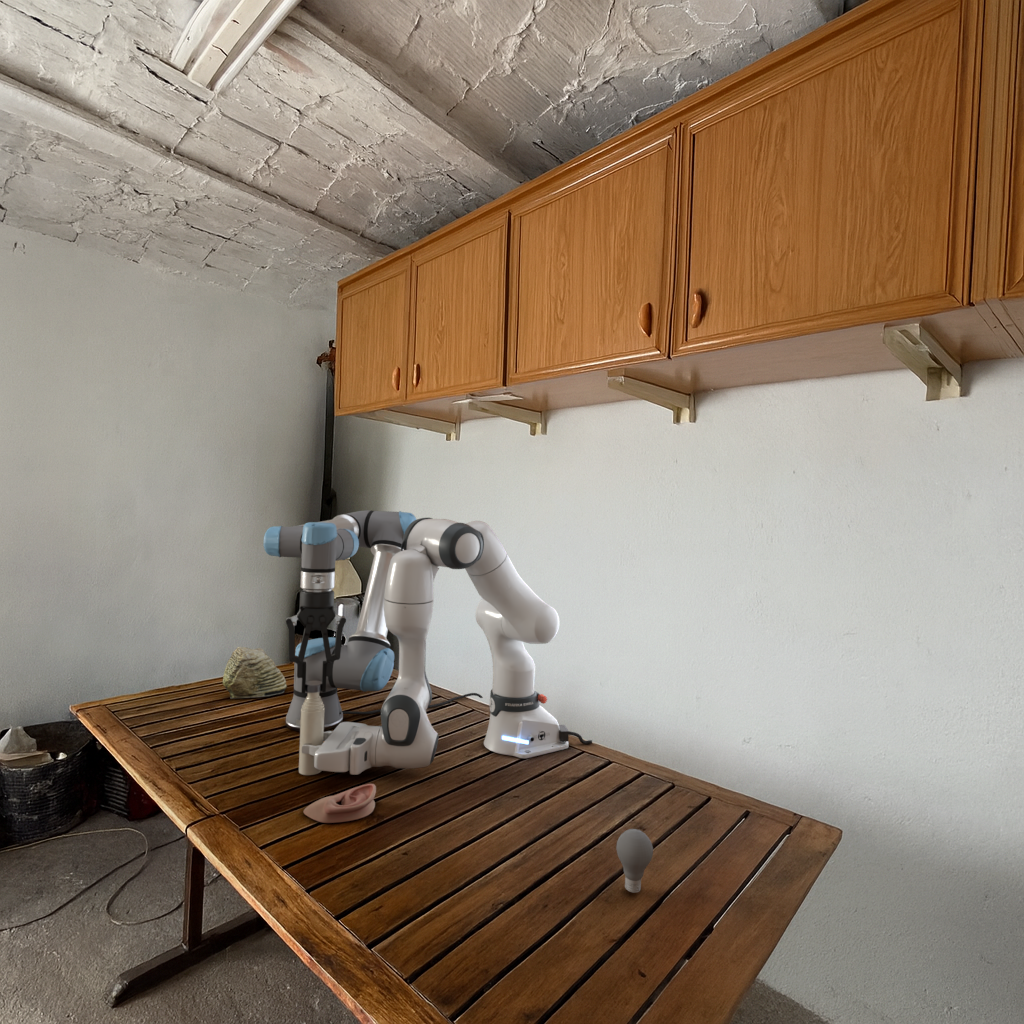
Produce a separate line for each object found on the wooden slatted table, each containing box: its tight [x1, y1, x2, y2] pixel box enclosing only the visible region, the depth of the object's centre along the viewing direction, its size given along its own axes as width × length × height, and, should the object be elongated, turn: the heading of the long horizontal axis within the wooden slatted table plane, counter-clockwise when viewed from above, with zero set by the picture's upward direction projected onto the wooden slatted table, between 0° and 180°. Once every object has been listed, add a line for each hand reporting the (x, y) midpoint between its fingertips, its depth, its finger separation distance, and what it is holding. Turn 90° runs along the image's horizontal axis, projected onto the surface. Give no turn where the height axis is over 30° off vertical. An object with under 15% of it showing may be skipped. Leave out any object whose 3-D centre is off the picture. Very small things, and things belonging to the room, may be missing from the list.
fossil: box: [222, 646, 288, 699], centre depth 198 cm, size 9×18×15 cm, turn 132°
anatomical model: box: [302, 783, 377, 824], centre depth 128 cm, size 13×4×12 cm
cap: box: [305, 681, 322, 693], centre depth 146 cm, size 4×4×2 cm
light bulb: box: [615, 828, 654, 894], centre depth 106 cm, size 6×6×10 cm
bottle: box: [298, 692, 325, 776], centre depth 146 cm, size 5×5×20 cm
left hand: (313, 690), depth 146 cm, fingers closed on cap, 4 cm apart
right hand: (307, 742), depth 146 cm, fingers closed on bottle, 5 cm apart
